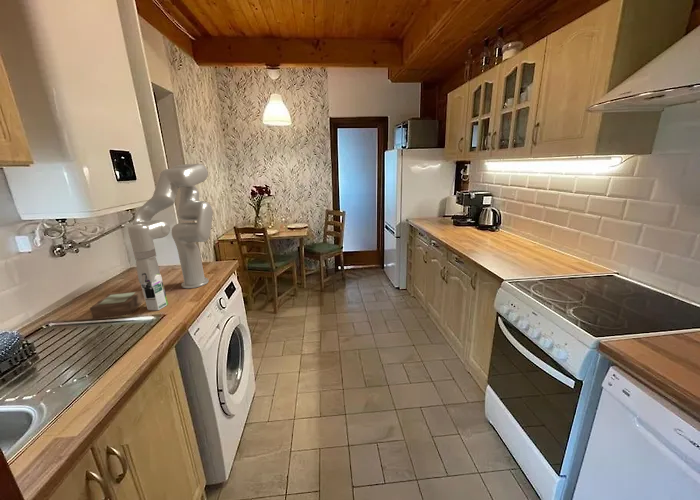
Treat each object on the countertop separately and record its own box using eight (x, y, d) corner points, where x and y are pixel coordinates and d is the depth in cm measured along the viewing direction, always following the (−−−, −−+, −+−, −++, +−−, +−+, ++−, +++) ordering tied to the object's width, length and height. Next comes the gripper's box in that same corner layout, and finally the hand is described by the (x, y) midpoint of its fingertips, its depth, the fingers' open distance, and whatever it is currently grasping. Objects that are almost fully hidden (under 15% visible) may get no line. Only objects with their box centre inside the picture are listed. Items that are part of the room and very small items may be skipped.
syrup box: (158, 310, 135) (151, 278, 131) (146, 310, 136) (138, 278, 132) (168, 304, 140) (161, 273, 136) (157, 304, 141) (149, 273, 137)
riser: (110, 304, 144) (107, 293, 142) (144, 300, 146) (142, 289, 144) (93, 319, 130) (89, 307, 129) (130, 314, 133) (127, 302, 131)
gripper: (144, 249, 139) (153, 287, 144) (125, 261, 123) (136, 303, 127) (162, 248, 140) (171, 285, 145) (146, 259, 124) (156, 301, 129)
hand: (154, 293), depth 136 cm, fingers closed on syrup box, 7 cm apart
